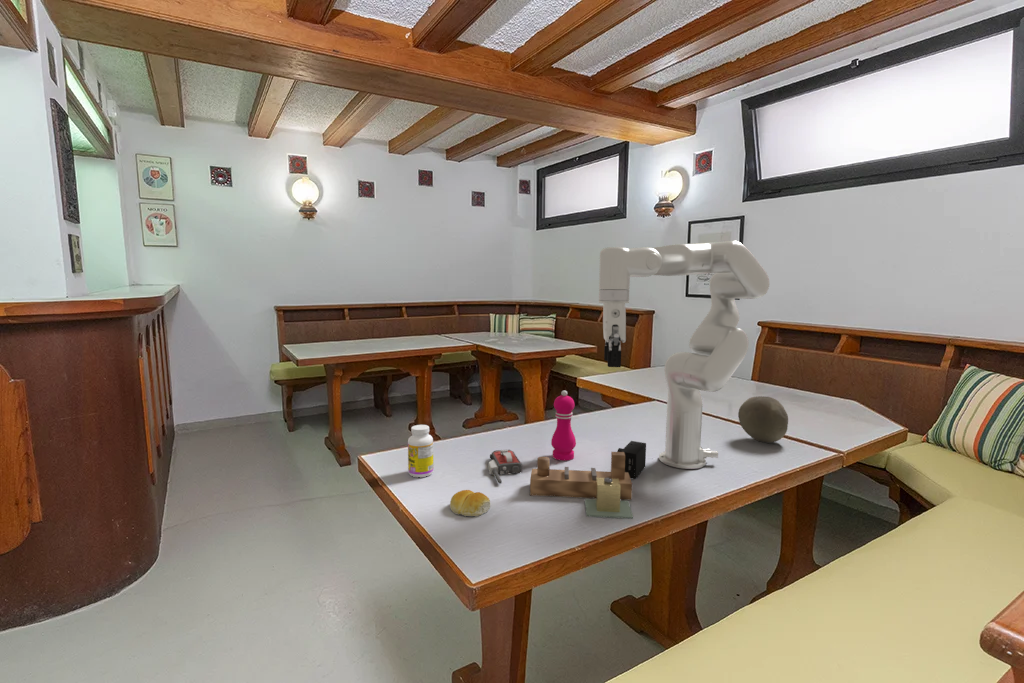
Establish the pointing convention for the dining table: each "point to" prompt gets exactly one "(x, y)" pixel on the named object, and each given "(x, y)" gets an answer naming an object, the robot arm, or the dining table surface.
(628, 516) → the felt pad
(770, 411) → the cantaloupe
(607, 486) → the lever cap
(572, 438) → the pepper mill
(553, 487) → the plane body
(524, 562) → the dining table surface
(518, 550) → the dining table surface
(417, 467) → the supplement bottle
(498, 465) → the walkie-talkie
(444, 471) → the dining table surface
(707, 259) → the robot arm
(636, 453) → the digital camera
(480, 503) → the bread roll
